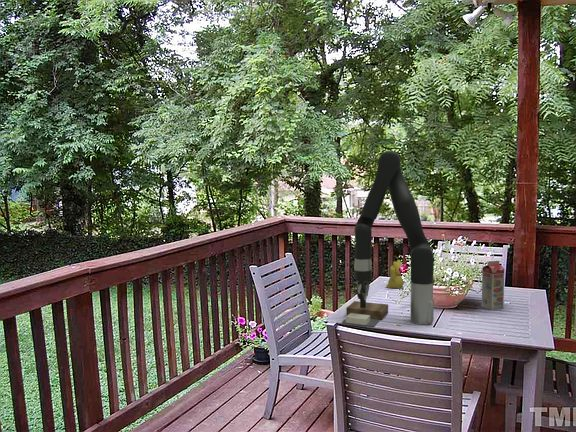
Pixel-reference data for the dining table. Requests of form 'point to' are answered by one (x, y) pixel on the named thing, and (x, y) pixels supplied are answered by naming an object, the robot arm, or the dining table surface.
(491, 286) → the juice carton
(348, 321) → the tile
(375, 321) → the mat
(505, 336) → the dining table surface
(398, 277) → the figurine
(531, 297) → the dining table surface
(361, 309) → the brown flat block
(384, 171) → the robot arm
